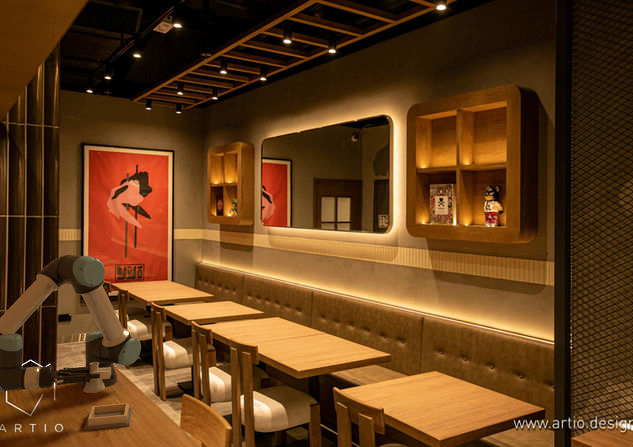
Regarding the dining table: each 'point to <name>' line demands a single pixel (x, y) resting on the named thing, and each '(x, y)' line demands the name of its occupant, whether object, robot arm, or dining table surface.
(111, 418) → the holder
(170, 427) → the dining table surface
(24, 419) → the dining table surface
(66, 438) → the dining table surface
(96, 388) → the flask
